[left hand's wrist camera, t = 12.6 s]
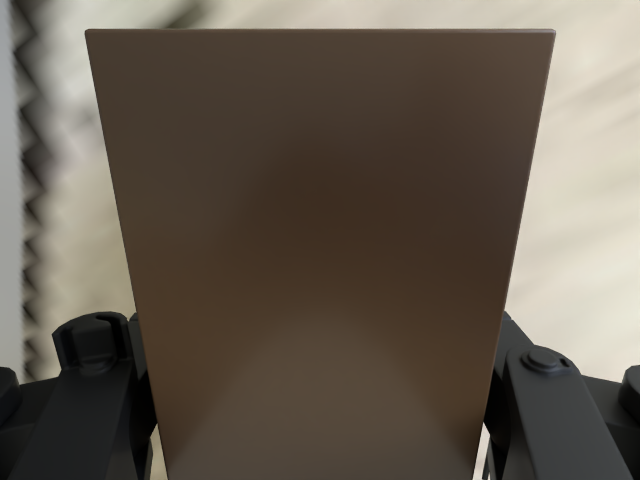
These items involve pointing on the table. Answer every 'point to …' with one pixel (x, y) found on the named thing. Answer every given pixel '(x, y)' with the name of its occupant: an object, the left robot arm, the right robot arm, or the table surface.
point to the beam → (320, 238)
